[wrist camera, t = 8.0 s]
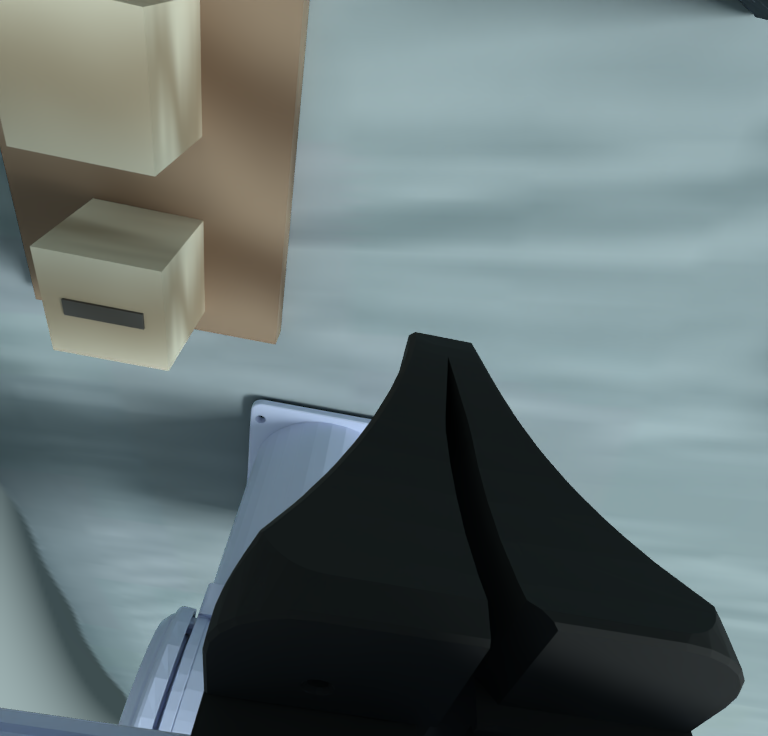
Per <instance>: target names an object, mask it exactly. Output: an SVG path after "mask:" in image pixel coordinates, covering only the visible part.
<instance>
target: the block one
mask: <svg viewBox="0 0 768 736" xmlns="http://www.w3.org/2000/svg"><path fill="white" fill-rule="evenodd" d="M30 250H31V254H32V258H33V263H34V267H35V271H36V276H37V280H38V284H39V289H40V293H41V297H42V302H43V306H44V311H45V315H46V319H47V324H48V328H49V332H50V337H51V341H52V345H53V350H57V351H63V352H68V353H74V354H79V355H84V356H90V357H95V358H101V359H106V360H112V361H117V362H123V363H128V364H133V365H139V366H144V367H150V368H155V369H161V370H166V371H169V370H170V368H171V366H172V365H173V363H174V361H175V360H176V358H177V356H178V355H179V353H180V351H181V350H182V348H183V346H184V345H185V343H186V342H187V340H188V338H189V337H190V335H191V333H192V332H193V330H194V328H195V327H196V325H197V323H198V322H199V320H200V319H201V317H202V315H203V314H204V312H205V290H204V226H203V220H198V219H193V218H188V217H183V216H178V215H173V214H168V213H163V212H158V211H153V210H148V209H143V208H138V207H133V206H129V205H124V204H119V203H114V202H109V201H104V200H99V199H94V198H93V199H91V200H90V201H89V202H87V203H86V204H85V205H83V206H82V207H81V208H79V209H78V210H77V211H75V212H74V213H73V214H72V215H70V216H69V217H68V218H66V219H65V220H64V221H62V222H61V223H60V224H58V225H57V226H56V227H54V228H53V229H52V230H50V231H49V232H48V233H46V234H45V235H44V236H42V237H41V238H40V239H38V240H37V241H36V242H35V243H33V244H32V245H31V246H30Z"/></svg>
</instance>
